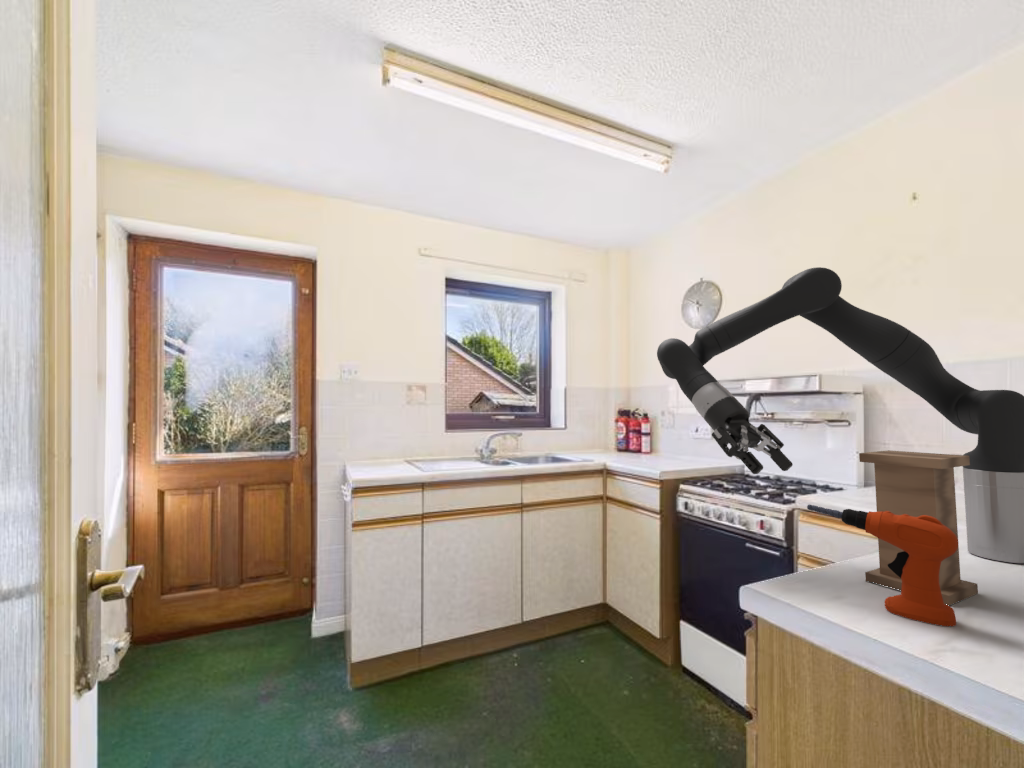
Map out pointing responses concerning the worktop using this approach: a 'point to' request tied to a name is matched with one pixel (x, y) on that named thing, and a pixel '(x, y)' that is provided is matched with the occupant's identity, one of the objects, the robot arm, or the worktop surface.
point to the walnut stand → (918, 509)
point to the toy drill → (910, 559)
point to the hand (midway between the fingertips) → (774, 469)
